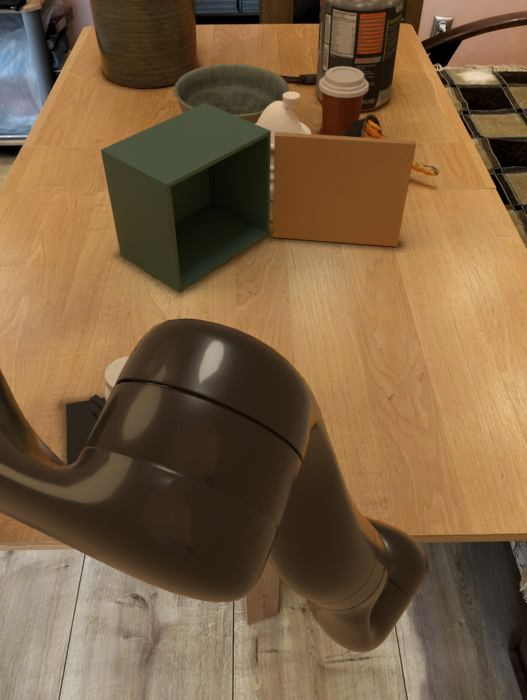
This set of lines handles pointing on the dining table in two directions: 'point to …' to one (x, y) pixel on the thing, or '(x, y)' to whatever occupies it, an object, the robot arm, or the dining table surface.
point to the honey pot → (281, 128)
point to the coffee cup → (341, 99)
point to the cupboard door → (340, 188)
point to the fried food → (372, 129)
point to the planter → (145, 40)
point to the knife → (302, 78)
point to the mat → (78, 428)
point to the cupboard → (189, 193)
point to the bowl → (231, 89)
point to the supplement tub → (360, 43)
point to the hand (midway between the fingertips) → (117, 385)
